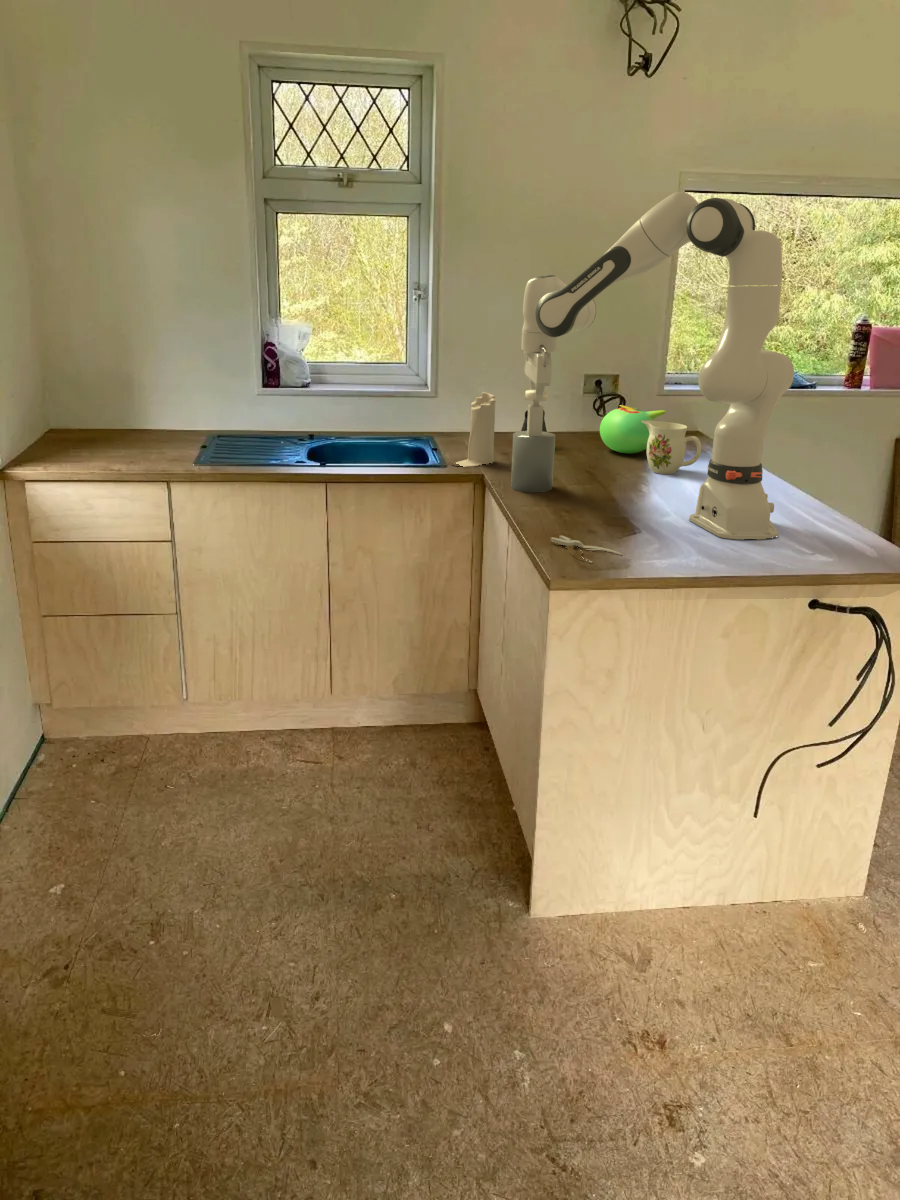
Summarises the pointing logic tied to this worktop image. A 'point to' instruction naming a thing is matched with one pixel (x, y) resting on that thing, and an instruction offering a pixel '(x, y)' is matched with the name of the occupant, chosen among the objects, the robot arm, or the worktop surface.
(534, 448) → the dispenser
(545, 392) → the pump head
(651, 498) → the worktop surface
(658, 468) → the pitcher
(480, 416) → the candle
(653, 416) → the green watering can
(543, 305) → the robot arm
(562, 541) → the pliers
